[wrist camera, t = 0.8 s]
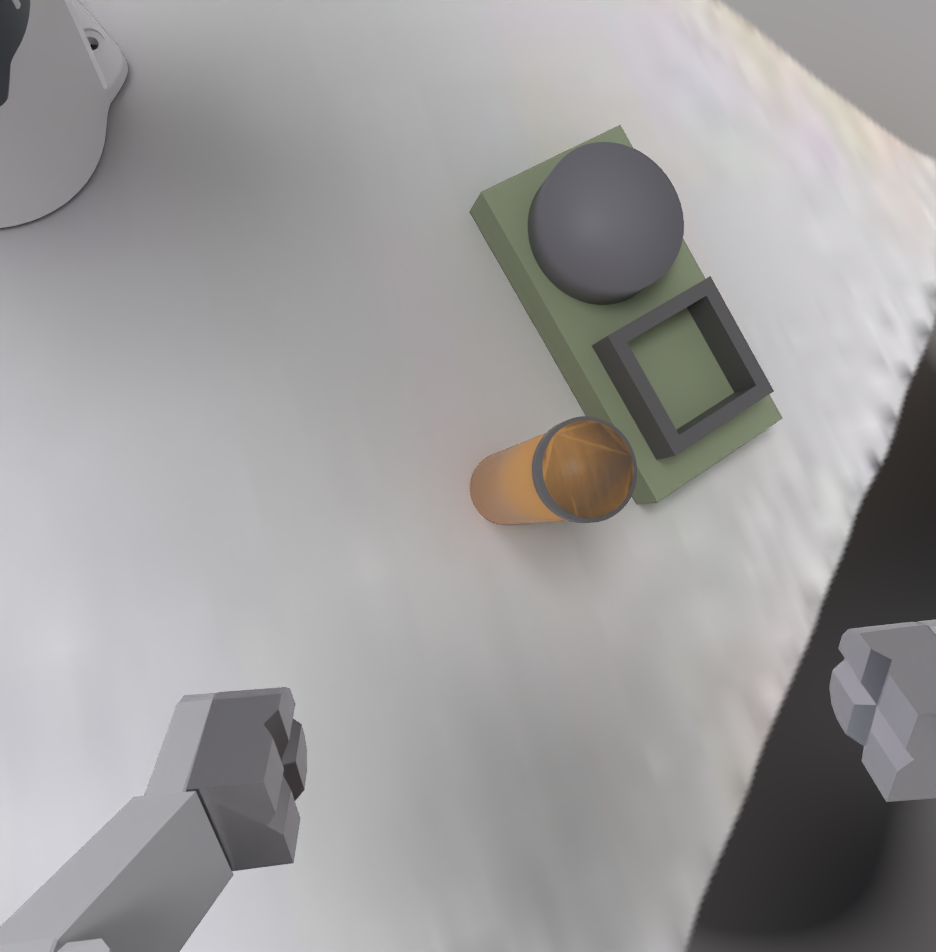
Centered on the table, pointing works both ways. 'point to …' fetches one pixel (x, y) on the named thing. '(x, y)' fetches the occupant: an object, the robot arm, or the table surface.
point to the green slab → (628, 308)
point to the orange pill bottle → (558, 476)
